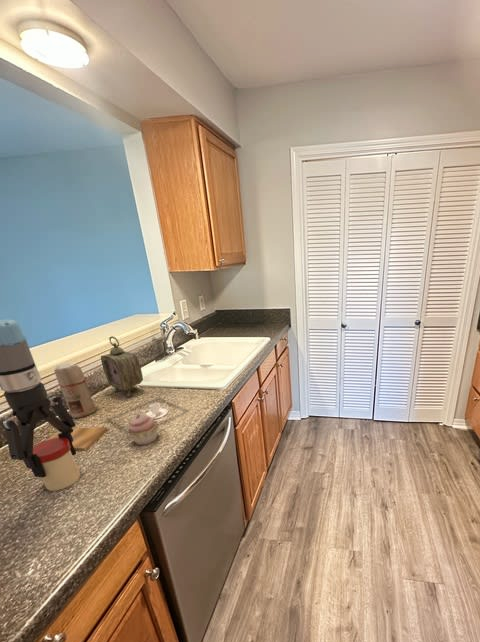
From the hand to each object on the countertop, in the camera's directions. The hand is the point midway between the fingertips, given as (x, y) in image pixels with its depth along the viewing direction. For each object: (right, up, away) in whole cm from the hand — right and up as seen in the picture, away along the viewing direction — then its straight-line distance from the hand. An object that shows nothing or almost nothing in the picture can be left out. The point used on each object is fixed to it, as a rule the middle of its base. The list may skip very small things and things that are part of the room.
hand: (56, 464), depth 85 cm
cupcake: (+15, +3, +19) cm, 24 cm away
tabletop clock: (-10, +18, +55) cm, 59 cm away
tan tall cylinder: (-19, +10, +39) cm, 44 cm away
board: (-10, +3, +21) cm, 23 cm away
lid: (0, +5, -2) cm, 5 cm away
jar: (0, -5, +2) cm, 6 cm away
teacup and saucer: (+8, +9, +34) cm, 36 cm away
